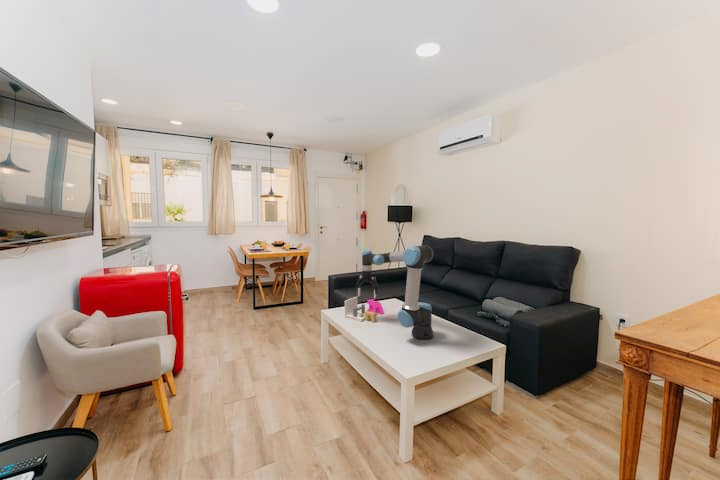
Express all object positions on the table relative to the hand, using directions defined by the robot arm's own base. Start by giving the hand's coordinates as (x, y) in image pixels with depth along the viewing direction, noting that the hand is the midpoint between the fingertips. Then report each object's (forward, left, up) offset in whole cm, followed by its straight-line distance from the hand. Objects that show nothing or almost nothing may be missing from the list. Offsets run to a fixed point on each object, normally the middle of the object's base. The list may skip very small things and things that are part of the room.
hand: (367, 296), depth 228 cm
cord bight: (-1, -4, -20) cm, 21 cm away
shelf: (+12, -6, -20) cm, 24 cm away
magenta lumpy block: (+7, -23, -21) cm, 32 cm away
